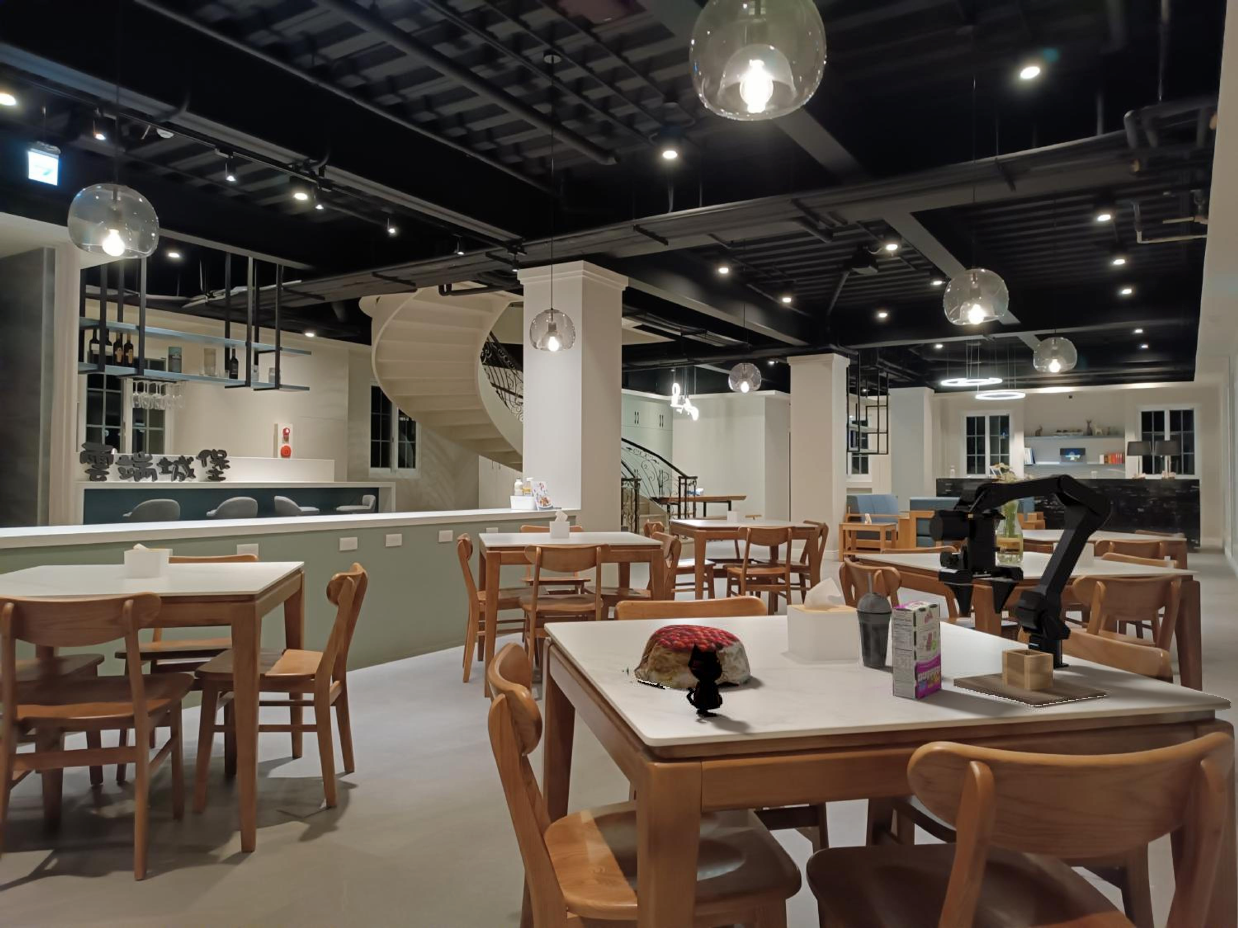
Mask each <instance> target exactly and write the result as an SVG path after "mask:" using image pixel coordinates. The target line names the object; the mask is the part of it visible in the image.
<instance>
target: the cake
mask: <svg viewBox="0 0 1238 928" xmlns="http://www.w3.org/2000/svg"><path fill="white" fill-rule="evenodd" d="M694 643H695V644H696V645H697V646H698V648H699V649H700V650H701V651H702V652H705V651H708V652H714V650H715V649H716V655H717V657H718V659H719V660H720V664H722V669H723V671H726V672H722V674H721V677H720V678H719V679H717V680H716V681H715V682H716V684H717V686H718V685H720V684H722V683H724V682H726V683H732V684H736V685H737V684H738V687H739V686H744V685H745V684H747V682H748V681H749V680H750V677H751V666H750V663H749V658H748V655H747V652H746V648H745V646H744V644H743V642H742V641H741V640H740V639H739V638H738V637H737V636H736V635H734V634H733V633H731V632H729V631H727V630H723V629H721V628H718V627H717V628H716V627H712V626H711V627H710V626H706V625H696V624H670V625H664V626H663V627H661V628H660V627H659V629H657V630H655V631H654V632H653V633H652V634H651V635H650V637H649V638H648V640H647V642H646V645H645V647H644V650H643V653H642V656H641V659H640V662H639V664H638V666H636V668H635V669H634V670H633V672H634V674H635V677H636V679H637V678H638V679H641V680H643V681H649V682H651V683H657V684H658V685H659V686H660V685H661V686H666V687H670V688H673V689H682V688H688V687H691V688H692V689H695V687H696V684H697V681H699V680H698V679H697V678H696V677H695V676H694V675H693V674H692V673H691V671H690V669H689V667H688V663H689V660H690V658H691V654H692V651H693V647H694ZM625 671H626V674H627V676H629V675H630V673H629V672H630V669H629V667H627V668H626V670H623V669H622V671H621V672H622V673H624V672H625ZM724 674H725V675H726V676H727V677H728V678H727V677H726V676H725V675H724ZM744 683H745V684H744ZM743 684H744V685H743Z"/></svg>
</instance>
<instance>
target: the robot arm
mask: <svg viewBox="0 0 1238 928" xmlns="http://www.w3.org/2000/svg"><path fill="white" fill-rule="evenodd" d="M1047 495H1048V496H1049V495H1054V497H1055V498H1056V499H1057V501H1058V503H1059V504H1060V505H1062V506H1063V507H1064V508H1065V511H1064V514H1063V516H1064V517H1063V518H1064V526H1065V527H1064V529H1063V531H1062V534H1061V536H1060V538H1059V540H1058V542H1057V543H1056V547H1055V549H1054V550H1053V552H1052V554H1051V556H1050V558H1049V561H1048V562H1047V565H1046V567H1045V568H1044V571H1043V573H1042V575H1041V577H1040V579H1039V580H1038V581H1039V582H1037V584H1036V586H1035V587H1034V588H1033V589H1026V588H1023V589H1022V590H1021V593H1020V596H1019V598H1018V600H1017V602H1016V603H1014V606H1015V607H1016V608H1015V611H1014V615H1015V618H1016V620H1017V622H1018V624H1020V626H1021V629H1022V631H1023V633H1024V634H1028V643H1027V649H1031V650H1035V651H1040V652H1044V653H1049V654H1053V669H1059V668H1066V667H1067V668H1069V666H1070V663H1066V662H1063V640H1064V641H1065V640H1069V638H1070V635H1071V632H1072V630H1071V628H1070V627H1069V626H1068V625H1067V624H1066V623H1065V622H1064V621H1063V620H1062V619H1061V614H1062V611H1063V605H1062V602H1063V601H1062V594H1063V592H1064V590H1065V588H1066V586H1067V583H1068V582H1069V579H1070V578H1071V577H1072V574H1073V571H1074V569H1075V568H1076V565H1077V564H1078V562H1079V559H1080V557H1081V555H1082V553H1083V551H1084V549H1085V547H1086V545H1087V543H1088V541H1089V538H1090V537H1091V536H1092V535H1093V534H1095V533H1096V532H1098V530H1100V529H1101V528H1102V527H1104V525H1105V524H1106V522H1107V520H1108V519H1109V518H1110V517H1111V515H1112V512H1113V505H1112V503H1111V501H1110V499H1109V498H1108V497H1107V496H1106V495H1104V494H1099V492H1097V491H1096V490H1095V489H1092V488H1091V487H1089V486H1087V485H1085V484H1083V483H1081V482H1079V481H1078V480H1077V479H1075V478H1074V477H1073V476H1072V475H1070V474H1067V473H1064V474H1062V473H1061V474H1058V473H1057V474H1055V473H1054V474H1050V475H1049V476H1043V477H1036V478H1029V479H1022V480H1016V481H1010V482H986V481H985V482H979V481H978V482H974V481H973V482H972V481H971V482H969V483H966V484H965V485H964V487H963V489H962V491H961V495H960V497H959V498H958V500H957V501H956V502H955V504H954V505H953V507H952V508H951V509H949V510H947V509H940V508H939V509H938V508H937V509H934V511H933V512H934V513H933V514H934V515H932V516H931V518H930V522H929V524H928V532H929V536H930V538H931V539H932V540H933V541H934V542H940V543H941V542H944V543H945V542H946V543H947V542H963V541H966V542H965V543H966V544H964V545H961V547H960V552H959V553H953V551H945V550H944V551H942V552H940V553H939V563H940V567H942V568H940V569H939V571H938V572H937V573H938V574H937V575H938V578H937V579H938V580H937V581H938V582H942V584H943V585H944V586H946V587H948V588H949V589H950V590H951V591H952V593H953V595H954V597H955V600H956V603H957V605H958V608H959V610H960V613H961V616H962V617H964V618H967V617H968V616H969V613H970V609H971V602H972V599H973V598H972V597H973V593H974V592H973V591H974V588H975V585H974V584H971V583H972V582H973V581H974V580H981V579H983V580H984V579H987V581H988V582H989V584H990V586H991V588H992V597H993V598H992V600H993V609H994V610H993V611H994V614H996V615H1000V614H1001V612H1003V609H1004V607H1005V605H1006V603H1007V602H1008V599H1009V598H1010V596H1011V595H1012V593H1013V591H1014V590H1015V588H1016V587H1017V586H1018V585H1020V582H1019V581H1024V570H1023V569H1022V567H1020V566H1015V565H1006V564H997V560H996V559H997V555H996V554H997V553H998V552H999V553H1000V552H1001V546H996V542H997V541H996V540H997V539H996V538H997V537H996V535H997V534H996V533H997V532H996V531H997V530H996V529H997V528H996V525H997V523H996V521H1005V520H1006V519H1007V518H1006V516H1005V515H1004V514H1002V513H1001V512H1000V511H999V509H998V508H999V507H1002V506H1005V505H1007V504H1008V503H1010V502H1013V501H1016V500H1023V499H1027V498H1028V499H1029V498H1035V497H1042V496H1047ZM969 515H972V516H969ZM965 539H966V540H965Z"/></svg>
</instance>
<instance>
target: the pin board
mask: <svg viewBox="0 0 1238 928" xmlns="http://www.w3.org/2000/svg"><path fill="white" fill-rule="evenodd" d="M953 686H954V687H956V686H957V687H956V688H961V689H963V688H965V689H964V690H967V689H968V691H971V690H973V691H972V692H975V691H976V692H975V693H978V692H980V693H979V694H982V693H985V694H984V695H986V694H988V695H987V696H990V695H995V696H998V697H1003V698H1008V699H1011V700H1016V701H1019V702H1024V703H1026V704H1030V705H1034V706H1035V705H1043V704H1049V703H1056V702H1063V701H1068V700H1076V699H1082V698H1088V697H1097V696H1104V695H1108V694H1107V691H1105V690H1102V689H1101V690H1100V689H1097V688H1094V687H1093V688H1092V687H1088V686H1084V685H1080V684H1078V683H1074V682H1073V683H1072V682H1069V681H1065V680H1060V679H1057V678H1054V677H1053V687H1051V688H1044V689H1037V690H1026V689H1023V688H1019V687H1015V686H1012V685H1008V684H1005V683H1002V672H998V673H989V674H982V675H973V676H964V677H958V678H957V677H956V678H953Z"/></svg>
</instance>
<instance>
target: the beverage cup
mask: <svg viewBox="0 0 1238 928" xmlns="http://www.w3.org/2000/svg"><path fill="white" fill-rule="evenodd" d="M867 574H868V582H869V583H868V585H869V592H867V593H865V594H864V595H862V597H861V598H860V599H859V600H858V603H857V609H856V614H857V620H858V623H859V624H858V625H859V634H860V647H861V648H860V649H861V658H862V662H863V666H864V667H867V668H871V669H883V668H886V662H887V657H888V655H887V654H888V645H889V632H890V631H889V630H890V622H891V608H892V607H891V603H890V601H889V600H888V598H887V597H886V596H885V595H883V594H882V593H879V592H873V582H872V573H871V571H868V573H867Z"/></svg>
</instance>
